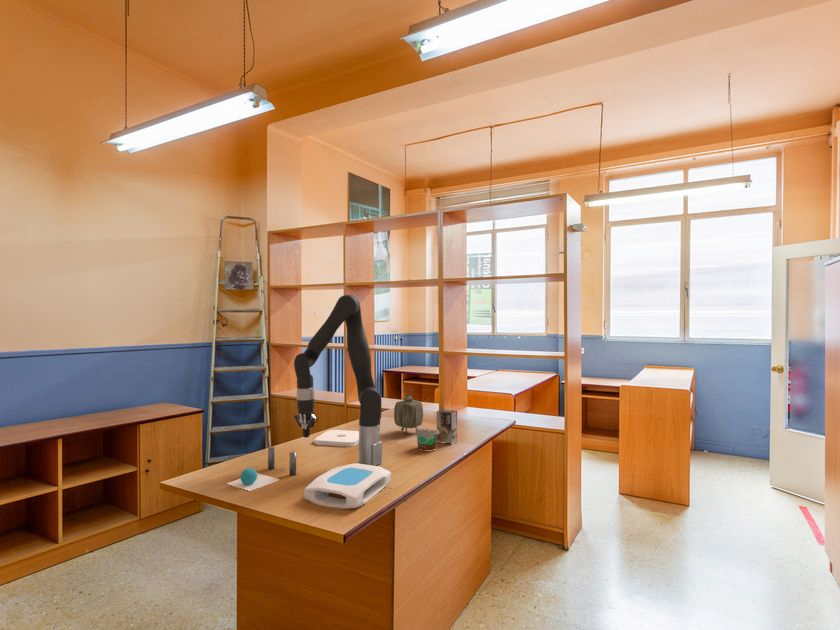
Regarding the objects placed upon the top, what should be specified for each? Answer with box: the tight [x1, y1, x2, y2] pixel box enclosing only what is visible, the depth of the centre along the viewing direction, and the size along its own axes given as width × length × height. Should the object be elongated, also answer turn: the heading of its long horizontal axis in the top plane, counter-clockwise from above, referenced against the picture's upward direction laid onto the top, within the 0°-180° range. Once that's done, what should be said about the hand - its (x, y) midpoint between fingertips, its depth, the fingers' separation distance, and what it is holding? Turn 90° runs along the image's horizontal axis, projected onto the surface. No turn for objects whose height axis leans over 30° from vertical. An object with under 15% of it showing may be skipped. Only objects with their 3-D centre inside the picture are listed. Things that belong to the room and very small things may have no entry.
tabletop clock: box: [393, 387, 424, 435], centre depth 251 cm, size 14×9×25 cm, turn 58°
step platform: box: [303, 462, 392, 510], centre depth 166 cm, size 21×28×6 cm
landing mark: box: [225, 472, 280, 492], centre depth 175 cm, size 14×14×1 cm
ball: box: [239, 467, 258, 485], centre depth 173 cm, size 6×6×6 cm
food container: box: [415, 427, 440, 450], centre depth 219 cm, size 12×6×10 cm, turn 68°
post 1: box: [267, 446, 276, 471], centre depth 191 cm, size 3×3×9 cm
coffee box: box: [436, 408, 458, 443], centre depth 233 cm, size 9×6×16 cm
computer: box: [314, 429, 359, 448], centre depth 236 cm, size 22×22×3 cm
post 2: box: [288, 451, 297, 477], centre depth 184 cm, size 3×3×9 cm
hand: (306, 437), depth 199 cm, fingers closed
